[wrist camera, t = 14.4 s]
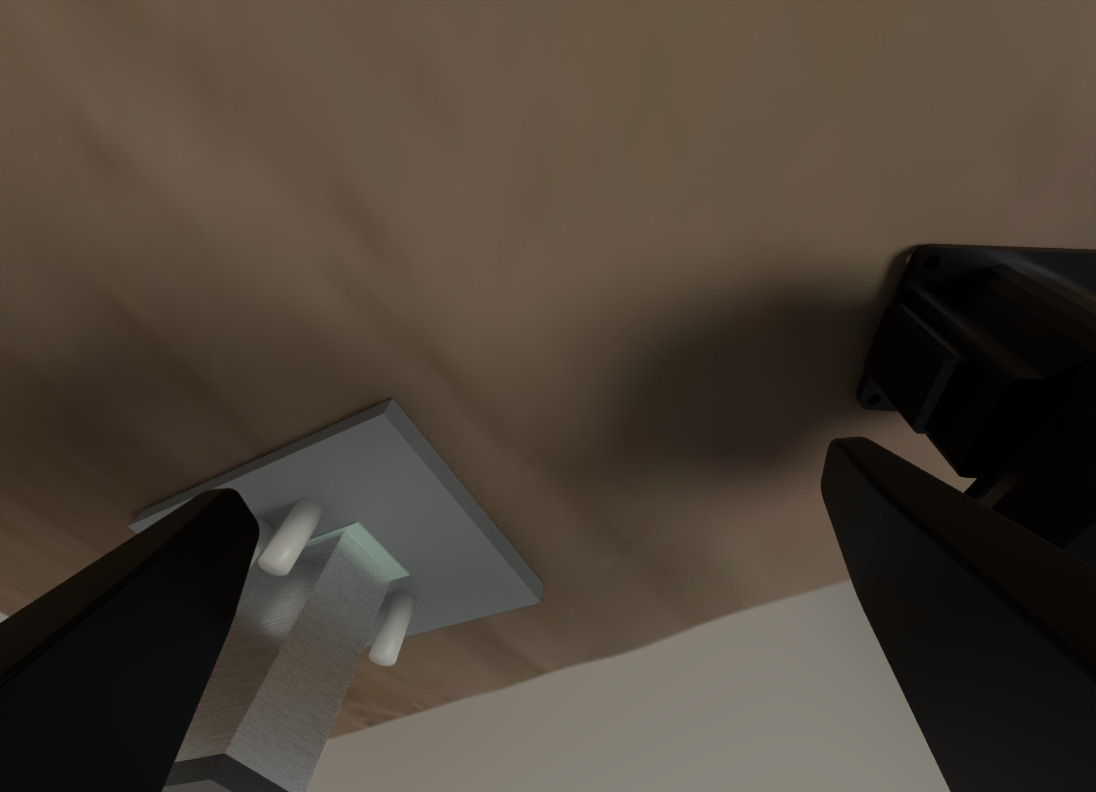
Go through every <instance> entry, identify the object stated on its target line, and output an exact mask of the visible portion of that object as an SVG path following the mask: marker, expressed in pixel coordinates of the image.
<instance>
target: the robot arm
mask: <svg viewBox="0 0 1096 792" xmlns="http://www.w3.org/2000/svg"><path fill="white" fill-rule="evenodd" d="M932 255H934V259H933V261H932V262H931V263H929V264H928V265H925V266H923V263H924V261H925V259H926V258H928V257H929V256H932ZM864 368H865V369H866V370H865V372H864V375H863V377H862V380H861V382H860V385H859V387H858V390H857V392H856V399H857V401H858V403H859V404H860V405H861V407H863V408H864V409H868V410H882V411H899V413H900V414H901V415H902V417H903V418H904V419H905V420H906V422H907V423H908V424H909V425H910V427H911V428H912V429H913V431H914V432H916V433H917V434H925V435H926V436H927V437H928V438H929V440H930V441H931V442H932V443H933V444H934V446H935V447H936V448H937V449H938V451H939V452H940V453H941V454H942V456H943V457H944V458H945V459H946V461H947V462H948V463H949V464H950V466H951V467H952V468H953V469H954V470H955V472H956V473H957V474H958V475H959V476H961V477H965V478H977V479H976V480H975V481H974V482H973V483H972V484H971V485H970V487H969V488H968V489H967V490H966V491H965V492H964V493H962V492H961V491H959V490H957V489H955V488H954V487H952V486H950V485H948V484H947V483H945V482H943V481H941V480H940V479H938V478H936V477H934V476H933V475H931V474H929V473H927V472H926V471H924V470H922V469H920V468H919V467H917V466H915V465H913V464H912V463H910V462H908V461H906V460H905V459H903V458H901V457H899V456H898V455H896V454H894V453H892V452H891V451H889V450H887V449H885V448H884V447H882V446H880V445H878V444H877V443H875V442H873V441H871V440H869V439H867V438H865V437H846V438H836V439H834V440H832V441H831V442H830V444H829V446H828V450H827V455H826V460H825V464H824V469H823V474H822V478H821V492H822V497H823V500H824V503H825V506H826V509H827V511H828V514H829V517H830V520H831V523H832V526H833V529H834V532H835V535H836V537H837V540H838V543H839V546H840V549H841V552H842V555H843V558H844V561H845V564H846V566H847V569H848V572H849V575H850V578H851V581H852V583H853V586H854V589H855V591H856V594H857V596H858V599H859V601H860V603H861V605H862V608H863V610H864V612H865V614H866V616H867V618H868V621H869V622H870V625H871V627H872V629H873V631H874V633H875V635H876V637H877V639H878V641H879V643H880V646H881V648H882V650H883V651H884V654H885V656H886V658H887V660H888V662H889V664H890V666H891V668H892V670H893V673H894V675H895V677H896V679H897V681H898V683H899V685H900V687H901V689H902V691H903V694H904V695H905V698H906V700H907V702H908V704H909V706H910V708H911V710H912V712H913V714H914V716H915V719H916V721H917V723H918V725H919V727H920V729H921V731H922V733H923V735H924V737H925V739H926V742H927V743H928V746H929V748H930V750H931V752H932V754H933V756H934V758H935V760H936V762H937V765H938V767H939V769H940V771H941V773H942V775H943V777H944V779H945V781H946V783H947V785H948V787H949V790H950V791H951V792H1096V250H1089V249H1061V248H1033V247H1006V246H978V245H951V244H927V245H924V246H922V247H920V248H918V249H917V250H916V251H915V252H914V253H913V254H912V256H911V258H910V260H909V262H908V265H907V267H906V270H905V272H904V275H903V277H902V280H901V282H900V285H899V287H898V290H897V292H896V295H895V297H894V300H893V302H892V304H891V305H889V306H888V307H887V308H886V310H885V313H884V315H883V318H882V320H881V323H880V325H879V328H878V330H877V333H876V335H875V338H874V340H873V343H872V345H871V348H870V350H869V353H868V355H867V358H866V360H865V363H864ZM872 394H876V395H875V396H874V397H873V398H871V399H867V398H868V396H870V395H872ZM259 534H260V529H259V524H258V521H257V520H256V518H255V517H254V515H253V513H252V512H251V510H250V509H249V507H248V506H247V504H246V503H245V501H244V500H243V498H242V496H241V495H240V494H239V492H238V491H236V490H235V489H232V488H220V489H210V490H206V491H203V492H202V493H200V494H198V495H197V496H195V497H194V498H192V499H191V500H189V501H188V502H186V503H185V504H183V505H181V506H180V507H178V508H177V509H175V510H174V511H172V512H171V513H169V514H168V515H166V516H165V517H163V518H161V519H160V520H158V521H157V522H155V523H154V524H152V525H151V526H149V527H148V528H146V529H144V530H143V531H141V532H140V533H138V534H137V535H135V536H134V537H132V538H131V539H129V540H127V541H126V542H124V543H123V544H121V545H120V546H118V547H117V548H115V549H114V550H112V551H111V552H109V553H107V554H106V555H104V556H103V557H101V558H100V559H98V560H97V561H95V562H94V563H92V564H90V565H89V566H87V567H86V568H84V569H83V570H81V571H80V572H78V573H77V574H75V575H73V576H72V577H70V578H69V579H67V580H66V581H64V582H63V583H61V584H60V585H58V586H57V587H55V588H53V589H52V590H50V591H49V592H47V593H46V594H44V595H43V596H41V597H40V598H38V599H36V600H35V601H33V602H32V603H30V604H29V605H27V606H26V607H24V608H23V609H21V610H19V611H18V612H16V613H15V614H13V615H12V616H10V617H9V618H7V619H6V620H4V621H3V622H1V623H0V792H162V790H163V788H164V786H165V783H166V781H167V778H168V776H169V774H170V771H171V769H172V767H173V764H174V762H175V760H176V757H177V755H178V752H179V750H180V748H181V745H182V743H183V741H184V738H185V736H186V733H187V731H188V729H189V726H190V724H191V722H192V719H193V717H194V714H195V712H196V710H197V707H198V705H199V703H200V700H201V698H202V695H203V693H204V691H205V688H206V686H207V684H208V681H209V679H210V676H211V674H212V672H213V669H214V667H215V665H216V662H217V660H218V657H219V655H220V653H221V650H222V648H223V646H224V643H225V641H226V638H227V636H228V633H229V631H230V628H231V625H232V622H233V619H234V616H235V613H236V610H237V607H238V604H239V600H240V597H241V594H242V591H243V588H244V584H245V581H246V578H247V575H248V572H249V568H250V565H251V562H252V559H253V556H254V552H255V549H256V546H257V543H258V540H259Z"/></svg>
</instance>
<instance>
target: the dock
mask: <svg viewBox="0 0 1096 792" xmlns="http://www.w3.org/2000/svg"><path fill="white" fill-rule="evenodd" d="M220 488H232V489H235V490H236V491H238V492H239V494H240V495H241V496H242V498H243V500H244V501H245V503H246V504H247V506H248V507H249V509H250V510H251V512H252V513H253V515H254V517H255V518H256V520H257V521H258V524H259V529H260V534H259V540H258V543H257V546H256V549H255V552H254V556H253V559H252V562H251V565H250V568H249V572H248V575H247V578H246V581H245V584H244V588H243V591H242V594H241V597H240V600H239V604H238V607H237V611H238V612H239V610H240V609H241V607H242V606H243V604H244V603H245V601H246V599H247V598H248V596H249V595H250V593H251V592H252V590H253V589H254V587H255V586H256V584H257V583H258V581H259V579H260V578H261V576H262V575H263V573H264V572H265V571H266V572H267V573H270V574H272V575H276V576H284V575H287V574H288V573H289V571H290V570H291V568H292V566H293V565H294V563H295V561H296V560H297V558H298V556H299V555H300V553H301V551H302V550H303V548H304V547H305V545H306V544H307V543H310V542H313V541H316V540H318V539H321V538H324V537H327V536H330V535H333V534H336V533H338V532H341V531H344V530H345V531H346V532H347V533H348V534H349V535H350V536H351V537H352V538H353V539H354V540H355V541H356V542H357V543H358V544H359V545H360V546H361V547H362V548H363V549H364V550H365V551H366V552H367V553H368V554H369V555H370V556H371V557H372V558H373V559H374V560H375V561H376V562H377V563H378V564H379V565H380V566H381V567H382V568H383V569H384V570H385V571H386V572H387V573H388V574H389V575H390V576H391V577H392V579H391V582H390V584H389V587H388V589H387V592H386V594H385V597H384V599H383V602H382V604H381V607H380V609H379V612H378V614H377V616H376V619H375V621H374V624H373V626H372V629H371V631H370V634H369V636H368V639H367V641H366V644H365V646H364V647H367V646H371V645H373V646H372V648H371V651H370V653H369V658H370V660H371V661H372V662H374V663H376V664H378V665H381V666H391V665H394V664H395V662H396V659H397V656H398V654H399V651H400V648H401V645H402V642H403V639H404V637H407V636H411V635H415V634H419V633H423V632H427V631H431V630H434V629H438V628H442V627H446V626H450V625H454V624H458V623H462V622H466V621H470V620H474V619H478V618H482V617H486V616H490V615H494V614H498V613H502V612H506V611H510V610H514V609H518V608H522V607H526V606H530V605H534V604H538V603H541V599H542V590H543V583H542V582H541V581H540V579H539V578H538V577H537V576H536V574H535V573H534V572H533V571H532V570H531V568H530V567H529V566H528V565H527V563H526V562H525V561H524V560H523V558H522V557H521V556H520V555H519V553H518V552H517V551H516V550H515V549H514V547H513V546H512V545H511V544H510V542H509V541H508V540H507V539H506V537H505V536H504V535H503V534H502V532H501V531H500V530H499V529H498V527H497V526H496V525H495V524H494V523H493V521H492V520H491V519H490V518H489V516H488V515H487V514H486V513H485V511H484V510H483V509H482V508H481V506H480V505H479V504H478V503H477V501H476V500H475V499H474V498H473V497H472V495H471V494H470V493H469V492H468V490H467V489H466V488H465V487H464V485H463V484H462V483H461V482H460V480H459V479H458V478H457V477H456V476H455V474H454V473H453V472H452V471H451V469H450V468H449V467H448V466H447V464H446V463H445V462H444V461H443V459H442V458H441V457H440V456H439V454H438V453H437V452H436V451H435V450H434V448H433V447H432V446H431V445H430V443H429V442H428V441H427V440H426V438H425V437H424V436H423V435H422V433H421V432H420V431H419V430H418V429H417V427H416V426H415V425H414V424H413V422H412V421H411V420H410V419H409V417H408V416H407V415H406V414H405V412H404V411H403V410H402V409H401V407H400V406H399V405H398V404H397V403H396V401H395V400H394V399H393V398H392V399H389V400H387V401H385V402H383V403H380V404H378V405H376V406H374V407H372V408H369V409H367V410H365V411H363V412H360V413H358V414H356V415H354V416H352V417H349V418H347V419H345V420H343V421H340V422H338V423H336V424H334V425H332V426H329V427H327V428H325V429H323V430H320V431H318V432H316V433H314V434H312V435H309V436H307V437H305V438H303V439H300V440H298V441H296V442H294V443H292V444H289V445H287V446H285V447H283V448H280V449H278V450H276V451H274V452H272V453H269V454H267V455H265V456H263V457H260V458H258V459H256V460H254V461H252V462H249V463H247V464H245V465H243V466H240V467H238V468H236V469H234V470H232V471H229V472H227V473H225V474H223V475H220V476H218V477H216V478H214V479H212V480H209V481H207V482H205V483H203V484H200V485H198V486H196V487H194V488H192V489H189V490H187V491H185V492H183V493H180V494H178V495H176V496H174V497H172V498H169V499H167V500H165V501H163V502H160V503H158V504H156V505H154V506H152V507H149V508H147V509H145V510H143V511H142V512H141V513H140V514H139V515H138V516H137V517H136V518H135V519H134V520H133V521H132V522H131V523H130V524H129V525H128V527H129V528H131V529H132V530H133V531H134V532H136V533H137V534H138V533H140V532H141V531H143V530H144V529H146V528H148V527H149V526H151V525H152V524H154V523H155V522H157V521H158V520H160V519H161V518H163V517H165V516H166V515H168V514H169V513H171V512H172V511H174V510H175V509H177V508H178V507H180V506H181V505H183V504H185V503H186V502H188V501H189V500H191V499H192V498H194V497H195V496H197V495H198V494H200V493H202V492H203V491H206V490H210V489H220Z"/></svg>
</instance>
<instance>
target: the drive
mask: <svg viewBox="0 0 1096 792" xmlns="http://www.w3.org/2000/svg"><path fill="white" fill-rule="evenodd" d="M391 579H392V577H391V576H390V575H389V574H388V573H387V572H386V571H385V570H384V569H383V568H382V567H381V566H380V565H379V564H378V563H377V562H376V561H375V560H374V559H373V558H372V557H371V556H370V555H369V554H368V553H367V552H366V551H365V550H364V549H363V548H362V547H361V546H360V545H359V544H358V543H357V542H356V541H355V540H354V539H353V538H352V537H351V536H350V535H349V534H348V533H347V532H346V531H345V530H344V531H341V532H338V533H336V534H333V535H330V536H327V537H324V538H321V539H318V540H316V541H313V542H310V543H307V544H306V545H305V547H304V548H303V550H302V551H301V553H300V555H299V556H298V558H297V560H296V561H295V563H294V565H293V566H292V568H291V570H290V571H289V573H288V574H287V575H284V576H276V575H272V574H270V573H267V572H266V571H265V572H264V573H263V575H262V576H261V578H260V579H259V581H258V583H257V584H256V586H255V587H254V589H253V590H252V592H251V593H250V595H249V596H248V598H247V599H246V601H245V603H244V604H243V606H242V607H241V609H240V610H239V612H238V613H237V615H236V616H235V618H234V619H233V622H232V625H231V628H230V631H229V633H228V636H227V638H226V641H225V643H224V646H223V648H222V650H221V653H220V655H219V657H218V660H217V662H216V665H215V667H214V669H213V672H212V674H211V676H210V679H209V681H208V684H207V686H206V688H205V691H204V693H203V695H202V698H201V700H200V703H199V705H198V707H197V710H196V712H195V714H194V717H193V719H192V722H191V724H190V726H189V729H188V731H187V733H186V736H185V738H184V741H183V743H182V745H181V748H180V750H179V752H178V755H177V757H176V760H175V762H174V764H173V767H172V769H171V771H170V774H169V776H168V778H167V781H166V783H165V786H164V788H163V790H162V792H306V790H307V787H308V785H309V782H310V780H311V778H312V775H313V773H314V770H315V767H316V765H317V763H318V760H319V757H320V755H321V753H322V750H323V748H324V745H325V743H326V740H327V738H328V735H329V733H330V730H331V728H332V726H333V723H334V721H335V718H336V716H337V713H338V711H339V708H340V706H341V703H342V701H343V698H344V696H345V693H346V691H347V688H348V686H349V683H350V681H351V678H352V676H353V673H354V671H355V669H356V666H357V664H358V661H359V659H360V656H361V654H362V651H363V649H364V646H365V644H366V641H367V639H368V636H369V634H370V631H371V629H372V626H373V624H374V621H375V619H376V616H377V614H378V612H379V609H380V607H381V604H382V602H383V599H384V597H385V594H386V592H387V589H388V587H389V584H390V582H391Z"/></svg>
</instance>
